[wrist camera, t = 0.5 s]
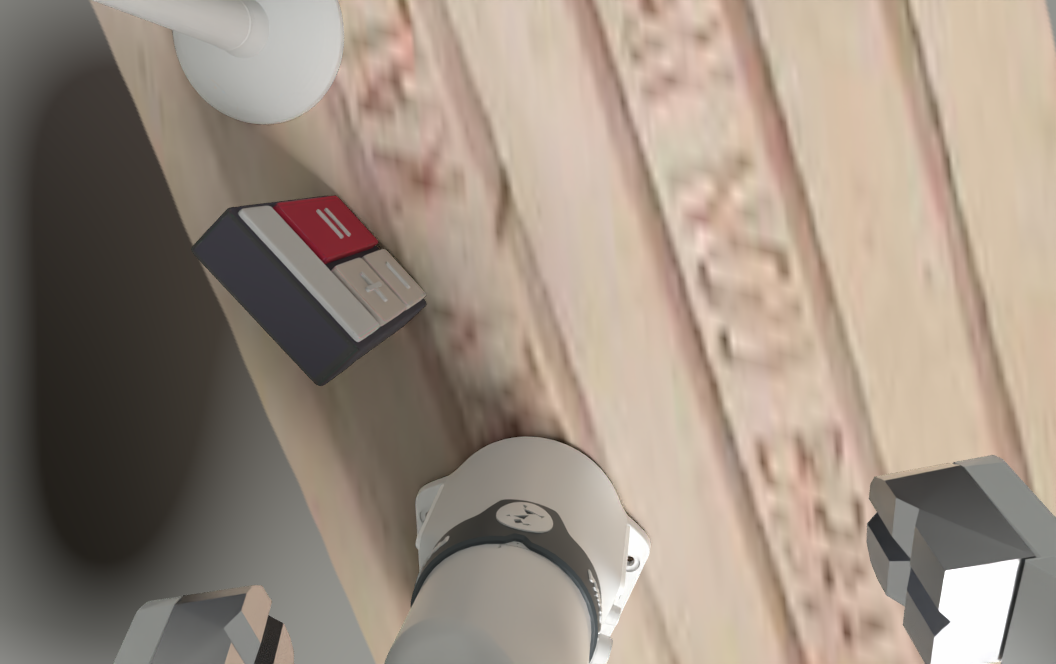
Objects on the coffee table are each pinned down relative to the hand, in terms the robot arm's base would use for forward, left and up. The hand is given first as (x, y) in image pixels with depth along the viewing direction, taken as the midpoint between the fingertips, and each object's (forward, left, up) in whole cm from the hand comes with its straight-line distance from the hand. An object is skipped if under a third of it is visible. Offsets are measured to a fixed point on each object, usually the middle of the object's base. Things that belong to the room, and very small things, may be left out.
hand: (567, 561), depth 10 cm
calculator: (-6, +19, -47) cm, 51 cm away
